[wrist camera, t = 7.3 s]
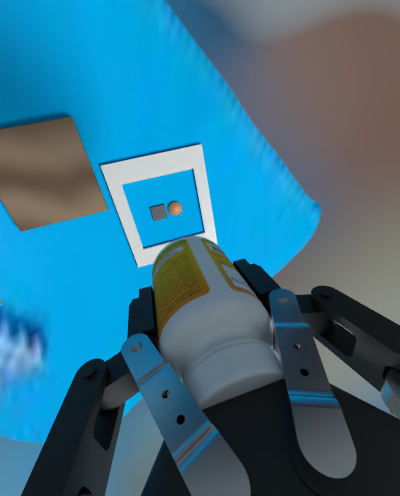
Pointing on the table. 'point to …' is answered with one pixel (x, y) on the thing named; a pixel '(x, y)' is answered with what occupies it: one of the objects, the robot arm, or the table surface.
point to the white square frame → (156, 167)
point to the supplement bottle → (211, 323)
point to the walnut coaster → (47, 174)
